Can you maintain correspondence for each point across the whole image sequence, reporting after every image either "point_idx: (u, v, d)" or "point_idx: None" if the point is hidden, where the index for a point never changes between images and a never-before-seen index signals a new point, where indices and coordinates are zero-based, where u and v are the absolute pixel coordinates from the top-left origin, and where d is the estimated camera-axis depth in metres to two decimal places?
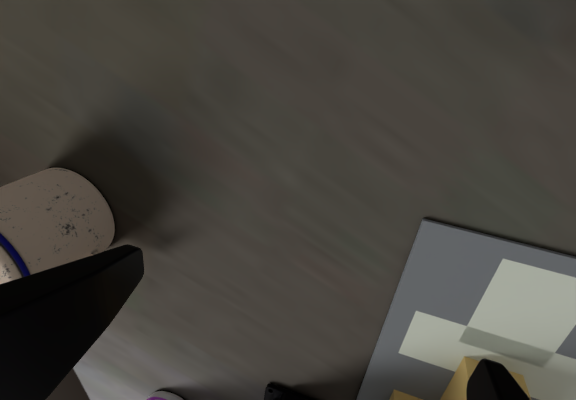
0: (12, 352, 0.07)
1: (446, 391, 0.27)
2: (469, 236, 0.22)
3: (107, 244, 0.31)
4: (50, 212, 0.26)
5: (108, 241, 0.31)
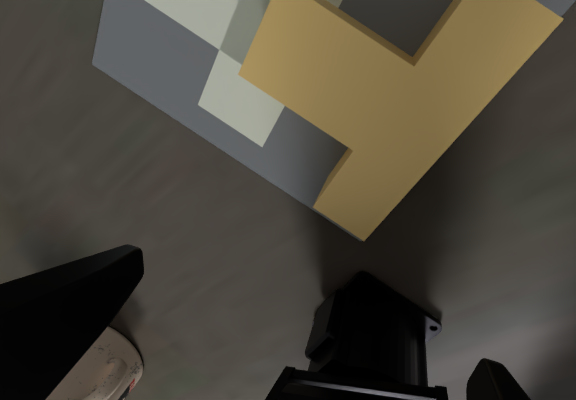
0: (12, 352, 0.07)
1: None
2: (105, 20, 0.20)
3: (126, 349, 0.34)
4: None
5: (122, 346, 0.34)
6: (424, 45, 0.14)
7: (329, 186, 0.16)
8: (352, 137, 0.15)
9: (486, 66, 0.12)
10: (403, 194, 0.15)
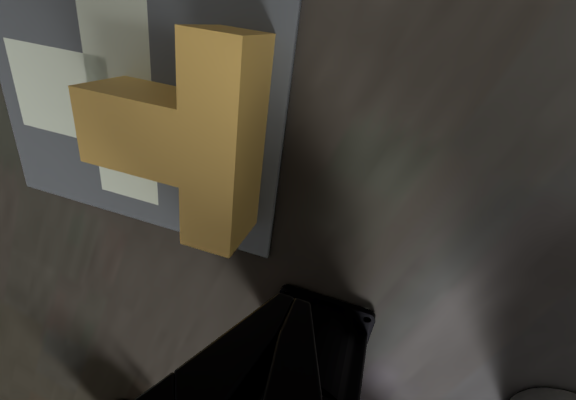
0: None
1: None
2: (21, 151, 0.26)
3: None
4: None
5: None
6: None
7: (180, 222, 0.19)
8: (172, 177, 0.18)
9: (219, 89, 0.15)
10: (230, 209, 0.17)
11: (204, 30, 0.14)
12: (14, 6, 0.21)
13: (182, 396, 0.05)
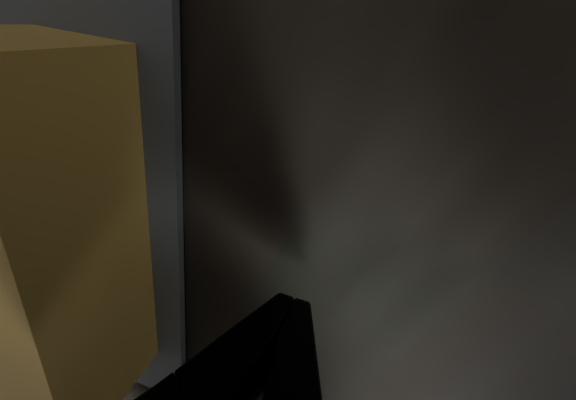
0: None
1: None
2: None
3: None
4: None
5: None
6: None
7: None
8: None
9: None
10: (50, 397, 0.09)
11: None
12: None
13: (182, 396, 0.05)
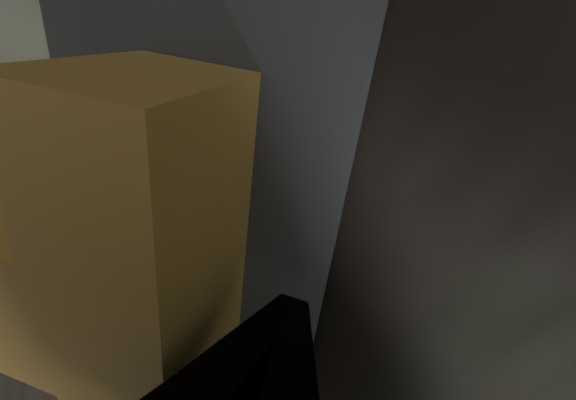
0: None
1: None
2: None
3: None
4: None
5: None
6: None
7: None
8: (40, 379, 0.08)
9: (103, 239, 0.05)
10: None
11: (35, 87, 0.05)
12: None
13: (185, 397, 0.05)
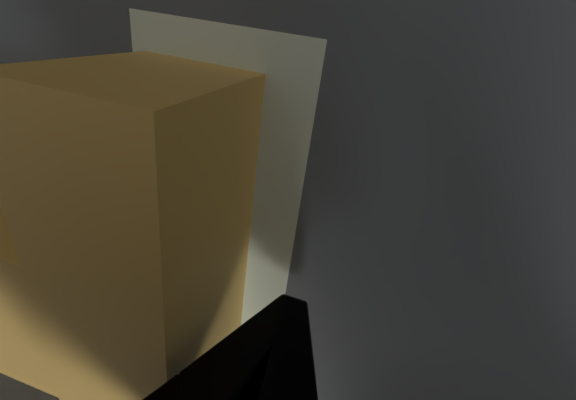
0: None
1: None
2: None
3: None
4: None
5: None
6: None
7: None
8: (42, 380, 0.08)
9: (108, 241, 0.05)
10: None
11: (42, 89, 0.05)
12: None
13: (187, 398, 0.05)
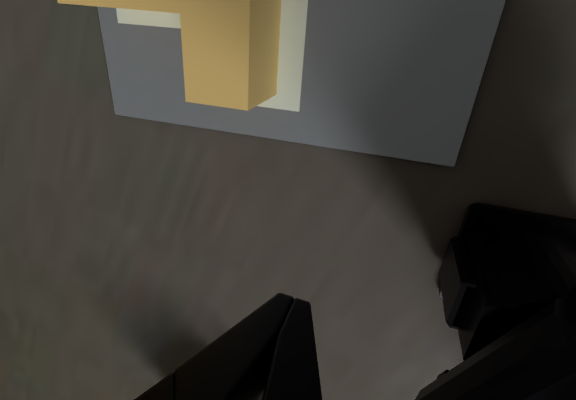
0: None
1: None
2: (111, 65, 0.20)
3: None
4: None
5: None
6: None
7: (184, 67, 0.15)
8: None
9: None
10: (247, 30, 0.14)
11: None
12: None
13: (182, 396, 0.05)
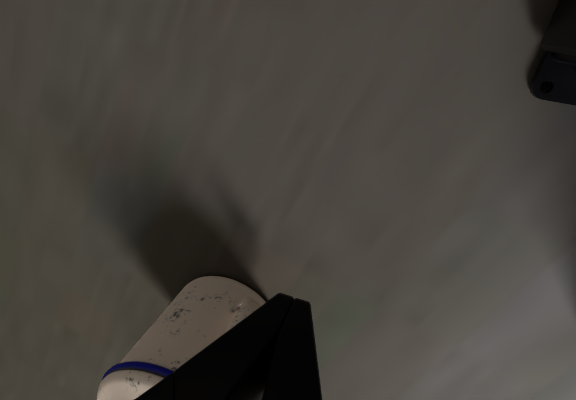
0: None
1: None
2: None
3: (250, 296, 0.25)
4: (156, 322, 0.23)
5: (244, 293, 0.25)
6: None
7: None
8: None
9: None
10: None
11: None
12: None
13: (182, 396, 0.05)
